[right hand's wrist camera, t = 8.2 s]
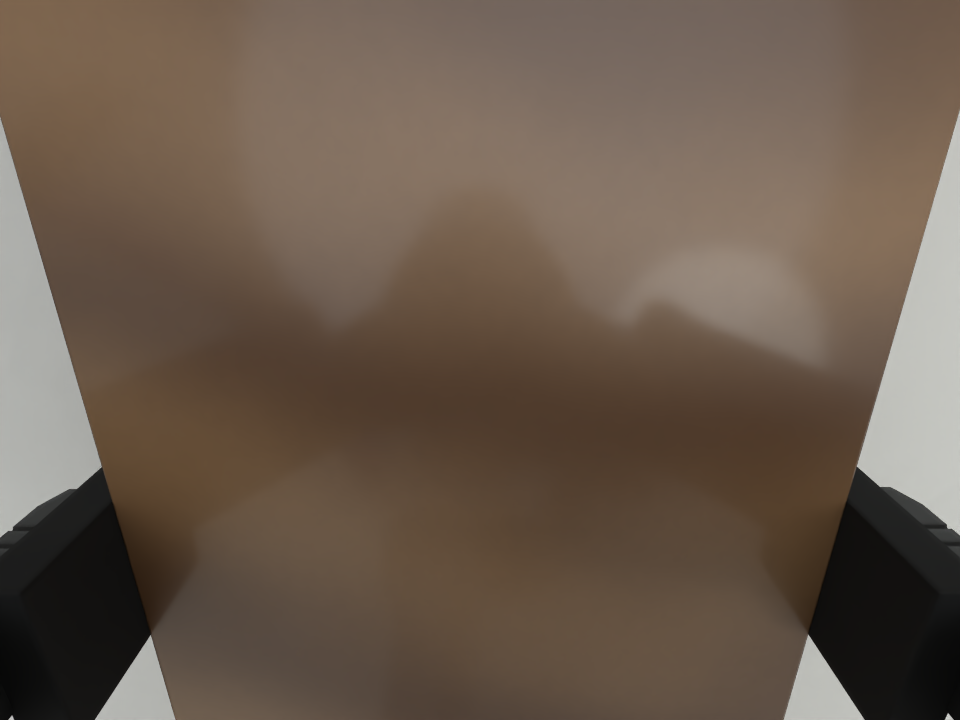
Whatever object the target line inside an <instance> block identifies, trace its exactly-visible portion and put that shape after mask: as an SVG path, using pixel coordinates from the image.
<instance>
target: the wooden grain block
mask: <svg viewBox="0 0 960 720" xmlns="http://www.w3.org/2000/svg"><path fill="white" fill-rule="evenodd" d="M959 110H960V0H0V117H1V121H2V124H3V128H4V131H5V134H6V138H7V141H8V145H9V148H10V152H11V155H12V159H13V162H14V165H15V169H16V172H17V176H18V179H19V183H20V186H21V190H22V193H23V196H24V200H25V203H26V207H27V210H28V214H29V217H30V220H31V224H32V227H33V231H34V234H35V238H36V241H37V245H38V248H39V251H40V255H41V258H42V262H43V265H44V269H45V272H46V276H47V279H48V282H49V286H50V289H51V293H52V296H53V300H54V303H55V306H56V310H57V313H58V317H59V320H60V324H61V327H62V331H63V334H64V337H65V341H66V344H67V348H68V351H69V355H70V358H71V362H72V365H73V368H74V372H75V375H76V379H77V382H78V386H79V389H80V392H81V396H82V399H83V403H84V406H85V410H86V413H87V417H88V420H89V423H90V427H91V430H92V434H93V437H94V441H95V444H96V448H97V451H98V454H99V458H100V461H101V465H102V468H103V472H104V475H105V478H106V482H107V485H108V489H109V492H110V496H111V499H112V503H113V506H114V509H115V513H116V516H117V520H118V523H119V527H120V530H121V534H122V537H123V540H124V544H125V547H126V551H127V554H128V558H129V561H130V564H131V568H132V571H133V575H134V578H135V582H136V585H137V589H138V592H139V595H140V599H141V602H142V606H143V609H144V613H145V616H146V620H147V623H148V626H149V630H150V633H151V637H152V640H153V644H154V647H155V650H156V654H157V657H158V661H159V664H160V668H161V671H162V675H163V678H164V681H165V685H166V688H167V692H168V695H169V699H170V702H171V706H172V709H173V712H174V716H175V719H176V720H784V716H785V713H786V709H787V706H788V702H789V699H790V695H791V692H792V689H793V685H794V682H795V678H796V675H797V671H798V668H799V664H800V661H801V657H802V654H803V650H804V647H805V644H806V640H807V637H808V633H809V630H810V626H811V623H812V619H813V616H814V612H815V609H816V605H817V602H818V599H819V595H820V592H821V588H822V585H823V581H824V578H825V574H826V571H827V567H828V564H829V560H830V557H831V554H832V550H833V547H834V543H835V540H836V536H837V533H838V529H839V526H840V522H841V519H842V515H843V512H844V509H845V505H846V502H847V498H848V495H849V491H850V488H851V484H852V481H853V477H854V474H855V470H856V467H857V464H858V460H859V457H860V453H861V450H862V446H863V443H864V439H865V436H866V432H867V429H868V425H869V422H870V419H871V415H872V412H873V408H874V405H875V401H876V398H877V394H878V391H879V387H880V384H881V380H882V377H883V374H884V370H885V367H886V363H887V360H888V356H889V353H890V349H891V346H892V342H893V339H894V335H895V332H896V329H897V325H898V322H899V318H900V315H901V311H902V308H903V304H904V301H905V297H906V294H907V290H908V287H909V284H910V280H911V277H912V273H913V270H914V266H915V263H916V259H917V256H918V252H919V249H920V245H921V242H922V239H923V235H924V232H925V228H926V225H927V221H928V218H929V214H930V211H931V207H932V204H933V200H934V197H935V194H936V190H937V187H938V183H939V180H940V176H941V173H942V169H943V166H944V162H945V159H946V155H947V152H948V149H949V145H950V142H951V138H952V135H953V131H954V128H955V124H956V121H957V117H958V114H959Z"/></svg>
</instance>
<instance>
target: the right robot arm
mask: <svg viewBox="0 0 960 720" xmlns="http://www.w3.org/2000/svg"><path fill="white" fill-rule="evenodd" d="M808 634H809V636H810V637H811V639H812V640H813V642H814V643H815V645H816V647H817V648H818V650H819V651H820V653H821V654H822V656H823V657H824V659H825V660H826V662H827V663H828V665H829V666H830V668H831V669H832V671H833V672H834V674H835V675H836V677H837V678H838V680H839V681H840V683H841V684H842V686H843V688H844V689H845V691H846V692H847V694H848V695H849V697H850V698H851V700H852V701H853V703H854V704H855V706H856V707H857V709H858V710H859V712H860V713H861V715H862V716H863V718H864V719H865V720H945V718H946V716H947V714H948V713H949V714H950V716H951V717H952V718H953V719H954V720H960V535H958V534H957V533H956V532H955V531H954V530H952V529H948V528H947V525H946V524H945V523H944V522H943V521H942V520H940V519H939V518H938V517H937V516H936V515H935V514H933V513H932V512H931V511H930V510H929V509H927V508H926V507H925V506H924V505H923V504H921V503H919V502H917V501H915V500H913V499H911V498H910V497H908V496H906V495H904V494H902V493H900V492H898V491H897V490H895V489H893V488H891V487H879V486H878V485H877V484H876V483H875V482H874V481H872V480H871V479H870V478H869V477H868V476H867V475H866V474H865V473H863V472H862V471H861V470H860V469H859V468H858V467H856V470H855V474H854V477H853V481H852V484H851V488H850V491H849V495H848V498H847V502H846V505H845V509H844V512H843V515H842V519H841V522H840V526H839V529H838V533H837V536H836V540H835V543H834V547H833V550H832V554H831V557H830V560H829V564H828V567H827V571H826V574H825V578H824V581H823V585H822V588H821V592H820V595H819V599H818V602H817V605H816V609H815V612H814V616H813V619H812V623H811V626H810V630H809V633H808ZM150 635H151V633H150V630H149V626H148V623H147V620H146V616H145V613H144V609H143V606H142V602H141V599H140V595H139V592H138V589H137V585H136V582H135V578H134V575H133V571H132V568H131V564H130V561H129V558H128V554H127V551H126V547H125V544H124V540H123V537H122V534H121V530H120V527H119V523H118V520H117V516H116V513H115V509H114V506H113V503H112V499H111V496H110V492H109V489H108V485H107V482H106V478H105V475H104V472H103V468H100V469H99V470H98V471H97V472H96V473H95V474H94V475H93V476H91V477H90V478H89V479H88V480H87V481H86V482H85V483H83V484H82V485H81V486H80V487H79V488H78V489H69V490H67V491H65V492H63V493H61V494H60V495H58V496H56V497H54V498H52V499H50V500H49V501H47V502H45V503H43V504H41V505H39V506H38V507H36V508H35V509H34V510H33V511H32V512H30V513H29V514H28V515H27V516H26V517H24V518H23V519H22V520H21V521H20V522H18V523H17V524H16V525H15V526H14V527H13V530H12V531H8V532H7V533H5V534H4V535H3V536H2V537H1V538H0V720H8V719H9V718H10V717H11V716H13V718H14V720H95V719H96V717H97V715H98V714H99V712H100V711H101V709H102V708H103V706H104V705H105V703H106V702H107V700H108V699H109V697H110V696H111V694H112V693H113V691H114V690H115V688H116V687H117V685H118V684H119V682H120V681H121V679H122V677H123V676H124V674H125V673H126V671H127V670H128V668H129V667H130V665H131V664H132V662H133V661H134V659H135V658H136V656H137V655H138V653H139V652H140V650H141V649H142V647H143V646H144V644H145V643H146V641H147V640H148V638H149V636H150Z"/></svg>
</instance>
